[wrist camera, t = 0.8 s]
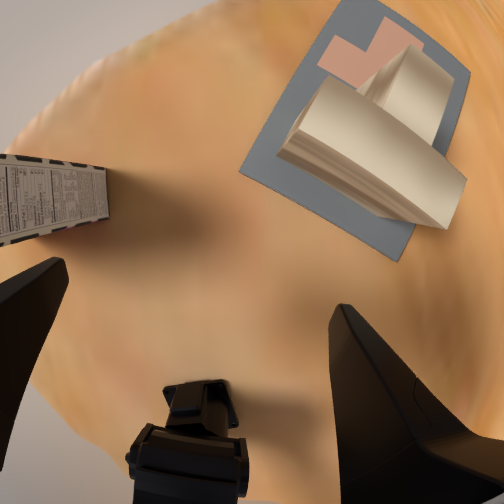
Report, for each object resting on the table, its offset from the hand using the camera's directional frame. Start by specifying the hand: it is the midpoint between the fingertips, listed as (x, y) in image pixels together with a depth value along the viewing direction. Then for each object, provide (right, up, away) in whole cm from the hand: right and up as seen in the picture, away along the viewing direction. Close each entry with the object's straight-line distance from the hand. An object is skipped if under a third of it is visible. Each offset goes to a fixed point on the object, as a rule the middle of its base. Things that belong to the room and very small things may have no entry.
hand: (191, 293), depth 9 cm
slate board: (+13, +15, +14) cm, 24 cm away
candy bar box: (-16, +6, +15) cm, 23 cm away
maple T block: (+10, +11, +14) cm, 20 cm away
